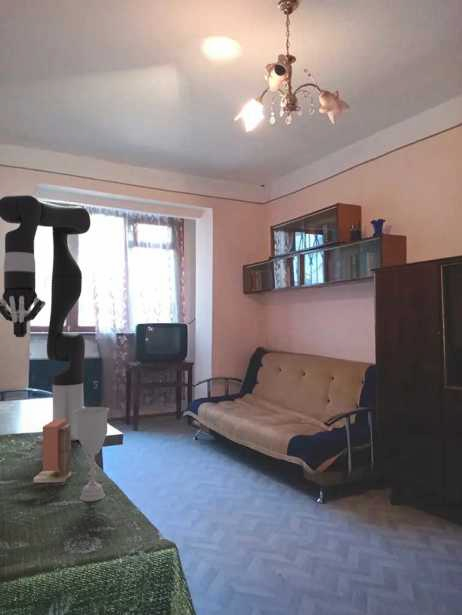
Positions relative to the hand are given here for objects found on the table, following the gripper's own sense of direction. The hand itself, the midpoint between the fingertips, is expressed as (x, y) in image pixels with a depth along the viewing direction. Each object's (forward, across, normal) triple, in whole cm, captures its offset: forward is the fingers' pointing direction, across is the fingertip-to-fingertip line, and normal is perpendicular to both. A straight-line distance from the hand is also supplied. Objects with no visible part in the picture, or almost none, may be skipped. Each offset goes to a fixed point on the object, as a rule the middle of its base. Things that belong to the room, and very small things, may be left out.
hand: (20, 337), depth 121 cm
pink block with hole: (+30, -13, +12) cm, 35 cm away
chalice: (+33, -25, +24) cm, 48 cm away
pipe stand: (+33, -12, +12) cm, 37 cm away
